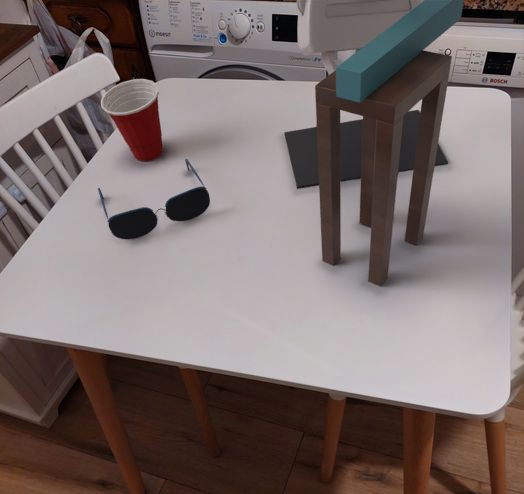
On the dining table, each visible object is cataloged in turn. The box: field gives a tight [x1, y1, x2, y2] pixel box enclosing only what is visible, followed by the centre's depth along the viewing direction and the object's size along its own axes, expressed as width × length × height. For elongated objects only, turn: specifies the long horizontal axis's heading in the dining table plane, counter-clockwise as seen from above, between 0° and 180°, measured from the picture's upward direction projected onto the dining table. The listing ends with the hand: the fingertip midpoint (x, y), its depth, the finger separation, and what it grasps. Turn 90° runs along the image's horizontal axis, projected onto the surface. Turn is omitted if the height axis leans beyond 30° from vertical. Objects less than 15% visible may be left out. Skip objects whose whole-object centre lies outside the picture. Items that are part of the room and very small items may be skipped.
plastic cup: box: [100, 78, 164, 162], centre depth 96 cm, size 11×11×12 cm
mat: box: [283, 109, 449, 189], centre depth 93 cm, size 26×18×1 cm
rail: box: [336, 0, 465, 103], centre depth 57 cm, size 22×3×3 cm, turn 140°
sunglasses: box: [97, 158, 211, 241], centre depth 89 cm, size 17×15×5 cm
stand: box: [314, 49, 453, 287], centre depth 67 cm, size 12×10×26 cm
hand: (364, 83), depth 77 cm, fingers open, 8 cm apart
